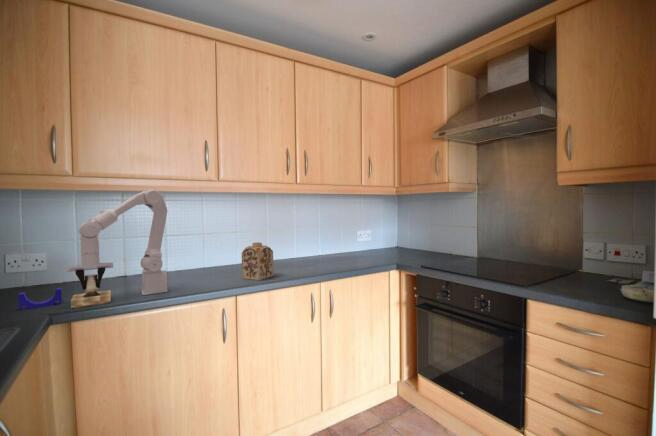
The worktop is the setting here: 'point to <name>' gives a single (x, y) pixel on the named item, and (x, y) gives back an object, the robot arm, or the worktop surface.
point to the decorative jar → (257, 262)
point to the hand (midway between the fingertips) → (91, 288)
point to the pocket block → (91, 299)
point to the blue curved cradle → (31, 304)
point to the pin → (91, 285)
